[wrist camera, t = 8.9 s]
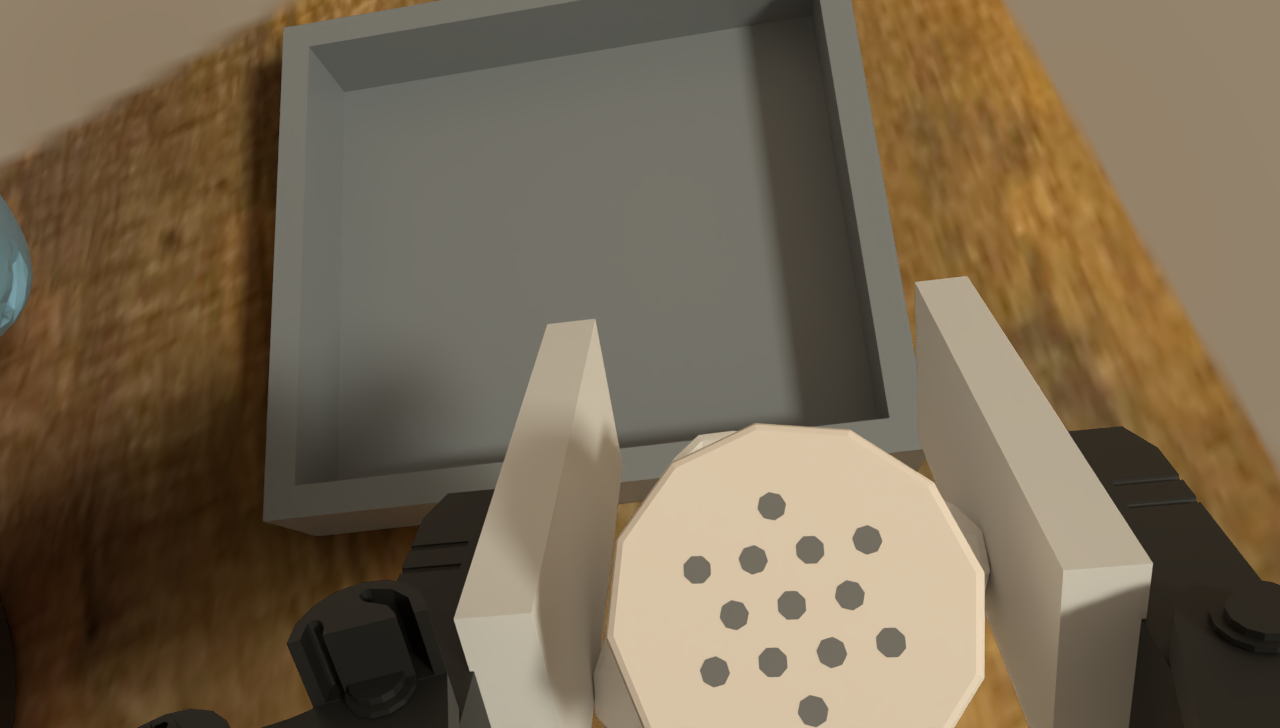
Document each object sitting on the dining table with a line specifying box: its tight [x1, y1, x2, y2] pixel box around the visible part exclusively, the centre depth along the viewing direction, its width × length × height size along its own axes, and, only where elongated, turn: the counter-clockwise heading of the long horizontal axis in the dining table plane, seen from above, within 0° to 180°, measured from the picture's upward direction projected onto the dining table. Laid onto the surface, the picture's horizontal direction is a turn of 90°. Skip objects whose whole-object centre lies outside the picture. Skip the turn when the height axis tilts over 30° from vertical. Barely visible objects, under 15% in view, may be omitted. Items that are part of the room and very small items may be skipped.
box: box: [263, 0, 926, 536], centre depth 33 cm, size 20×18×4 cm
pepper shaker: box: [593, 423, 990, 728], centre depth 13 cm, size 4×4×10 cm
